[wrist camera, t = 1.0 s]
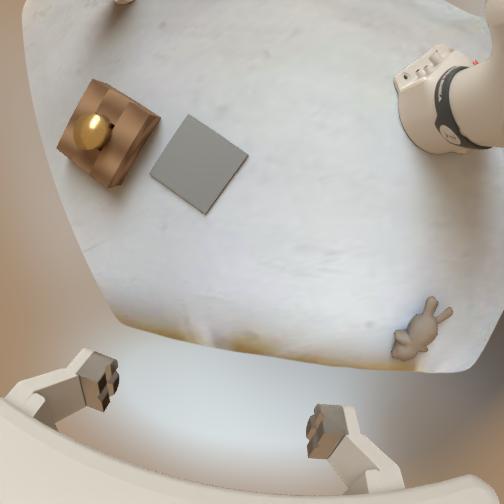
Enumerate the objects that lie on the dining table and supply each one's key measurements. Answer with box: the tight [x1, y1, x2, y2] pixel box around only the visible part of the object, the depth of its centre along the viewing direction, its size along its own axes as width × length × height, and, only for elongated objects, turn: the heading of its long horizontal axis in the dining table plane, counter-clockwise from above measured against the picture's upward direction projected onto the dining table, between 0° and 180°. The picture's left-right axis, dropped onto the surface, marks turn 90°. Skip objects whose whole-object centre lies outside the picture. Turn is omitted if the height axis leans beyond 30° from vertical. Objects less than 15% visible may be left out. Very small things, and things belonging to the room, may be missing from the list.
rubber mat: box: [150, 114, 248, 214], centre depth 47 cm, size 12×12×1 cm
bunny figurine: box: [391, 296, 453, 361], centre depth 51 cm, size 10×5×15 cm
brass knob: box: [73, 113, 115, 150], centre depth 42 cm, size 6×6×8 cm
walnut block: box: [57, 79, 161, 188], centre depth 43 cm, size 14×14×5 cm
